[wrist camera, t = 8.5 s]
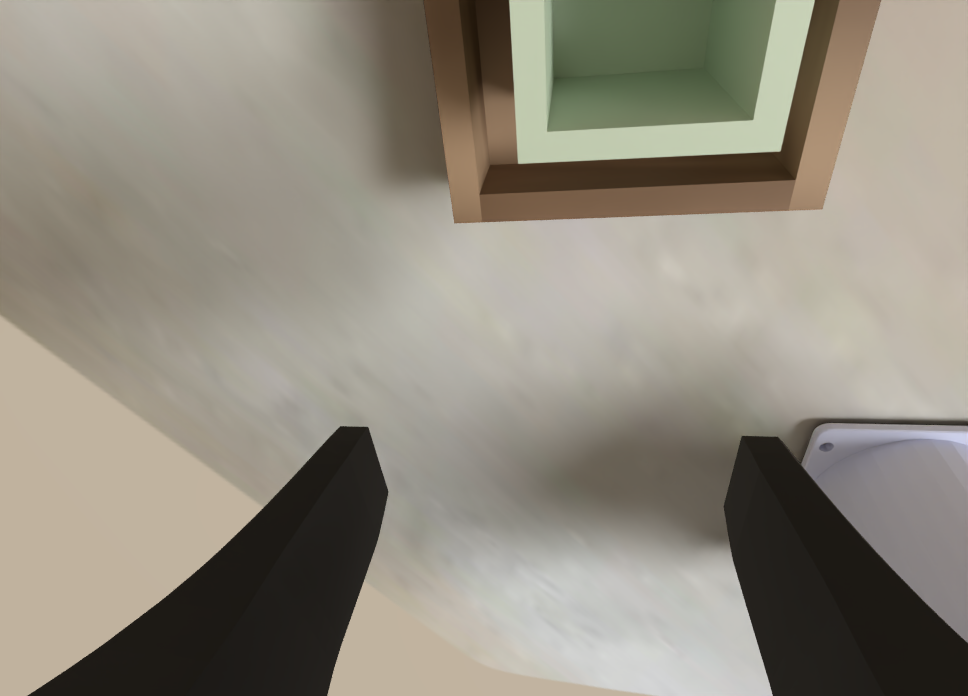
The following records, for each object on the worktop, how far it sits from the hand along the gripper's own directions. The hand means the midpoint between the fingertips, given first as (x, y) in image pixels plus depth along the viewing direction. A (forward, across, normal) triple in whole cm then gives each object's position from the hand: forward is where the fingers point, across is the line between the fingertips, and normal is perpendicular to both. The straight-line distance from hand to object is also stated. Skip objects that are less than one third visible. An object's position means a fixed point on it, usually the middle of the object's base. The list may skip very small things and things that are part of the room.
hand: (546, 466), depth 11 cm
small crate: (+9, -2, -7) cm, 12 cm away
